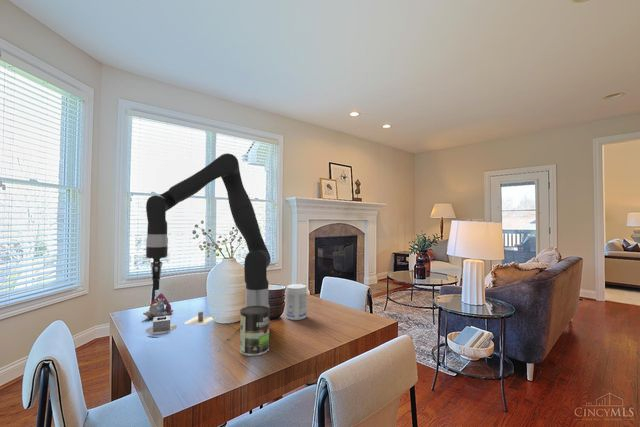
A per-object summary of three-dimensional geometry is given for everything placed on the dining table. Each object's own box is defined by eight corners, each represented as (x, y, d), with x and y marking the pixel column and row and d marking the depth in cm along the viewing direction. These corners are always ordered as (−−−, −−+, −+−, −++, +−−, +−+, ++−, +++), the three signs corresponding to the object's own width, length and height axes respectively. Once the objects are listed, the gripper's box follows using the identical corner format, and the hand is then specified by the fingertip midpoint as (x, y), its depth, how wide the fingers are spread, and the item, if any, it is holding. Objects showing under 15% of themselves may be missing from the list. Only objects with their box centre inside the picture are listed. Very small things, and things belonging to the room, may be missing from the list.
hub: (182, 328, 127) (182, 316, 127) (165, 338, 116) (165, 325, 116) (157, 326, 128) (158, 314, 128) (139, 336, 117) (139, 323, 117)
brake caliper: (181, 308, 146) (170, 292, 139) (167, 329, 137) (155, 312, 130) (161, 307, 148) (149, 290, 141) (146, 326, 140) (133, 310, 133)
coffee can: (275, 348, 109) (276, 308, 109) (254, 359, 100) (255, 315, 101) (254, 341, 115) (254, 303, 115) (233, 351, 106) (233, 310, 106)
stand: (216, 320, 137) (217, 309, 137) (205, 328, 127) (205, 316, 127) (195, 319, 138) (196, 308, 138) (183, 327, 128) (183, 315, 128)
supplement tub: (304, 313, 149) (305, 283, 149) (308, 320, 140) (308, 287, 140) (284, 314, 147) (285, 284, 147) (286, 321, 137) (287, 288, 138)
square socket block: (169, 325, 126) (170, 315, 126) (170, 330, 121) (170, 319, 121) (153, 327, 123) (153, 317, 123) (152, 332, 118) (153, 321, 118)
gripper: (167, 246, 117) (166, 292, 117) (167, 243, 129) (166, 284, 129) (145, 247, 114) (144, 293, 113) (147, 244, 126) (146, 286, 126)
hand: (156, 288), depth 121 cm, fingers closed
